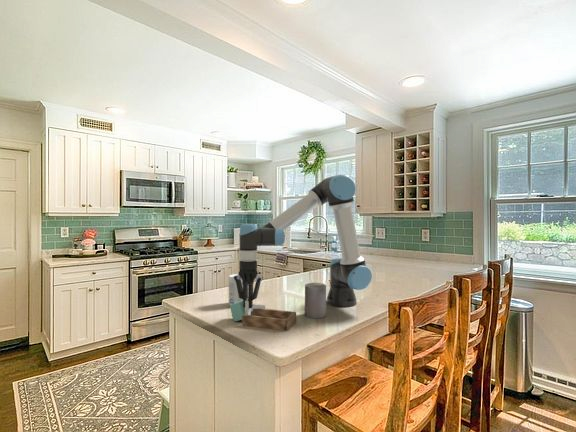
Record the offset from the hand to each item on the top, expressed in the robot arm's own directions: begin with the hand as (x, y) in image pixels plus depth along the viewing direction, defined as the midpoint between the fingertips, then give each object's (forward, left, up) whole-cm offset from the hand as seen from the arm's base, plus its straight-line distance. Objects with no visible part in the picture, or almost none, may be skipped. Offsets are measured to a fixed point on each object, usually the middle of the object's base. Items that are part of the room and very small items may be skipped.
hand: (247, 315), depth 133 cm
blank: (+3, 0, -2) cm, 3 cm away
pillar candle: (-25, -17, -3) cm, 31 cm away
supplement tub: (+16, -21, -3) cm, 26 cm away
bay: (-9, -1, -2) cm, 10 cm away
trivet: (+4, -11, -2) cm, 11 cm away
